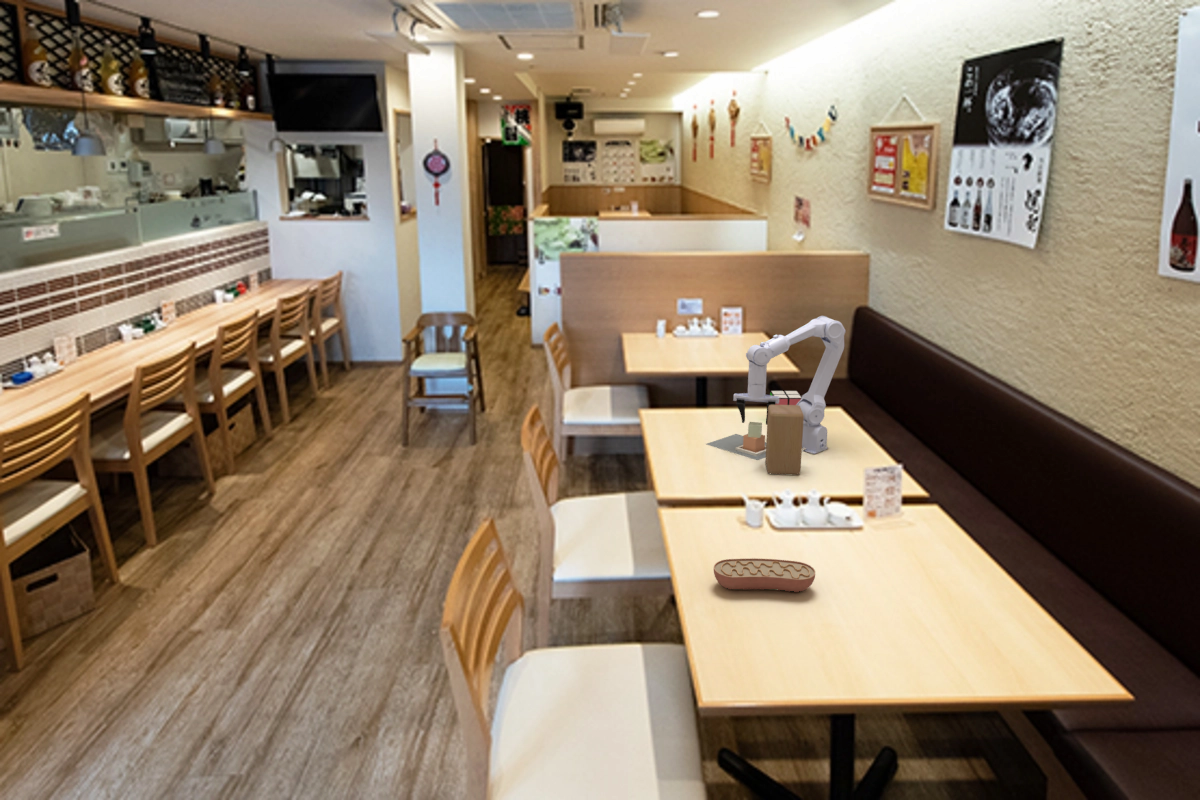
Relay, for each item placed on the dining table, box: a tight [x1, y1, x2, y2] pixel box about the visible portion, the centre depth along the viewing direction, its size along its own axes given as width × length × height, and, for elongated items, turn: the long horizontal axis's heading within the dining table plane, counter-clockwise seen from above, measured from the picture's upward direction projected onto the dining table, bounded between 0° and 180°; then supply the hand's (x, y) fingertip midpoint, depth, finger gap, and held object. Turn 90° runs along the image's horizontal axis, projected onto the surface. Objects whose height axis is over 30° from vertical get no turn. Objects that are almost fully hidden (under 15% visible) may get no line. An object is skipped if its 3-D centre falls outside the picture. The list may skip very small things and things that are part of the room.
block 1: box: [747, 421, 763, 438], centre depth 292 cm, size 4×4×4 cm
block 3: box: [764, 405, 804, 476], centre depth 276 cm, size 10×10×20 cm
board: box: [706, 433, 766, 461], centre depth 297 cm, size 22×16×2 cm
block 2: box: [742, 433, 766, 453], centre depth 293 cm, size 5×5×5 cm
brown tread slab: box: [713, 557, 816, 593], centre depth 204 cm, size 23×10×5 cm, turn 85°
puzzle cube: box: [769, 390, 802, 405], centre depth 327 cm, size 10×10×10 cm
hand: (755, 422), depth 291 cm, fingers open, 7 cm apart
